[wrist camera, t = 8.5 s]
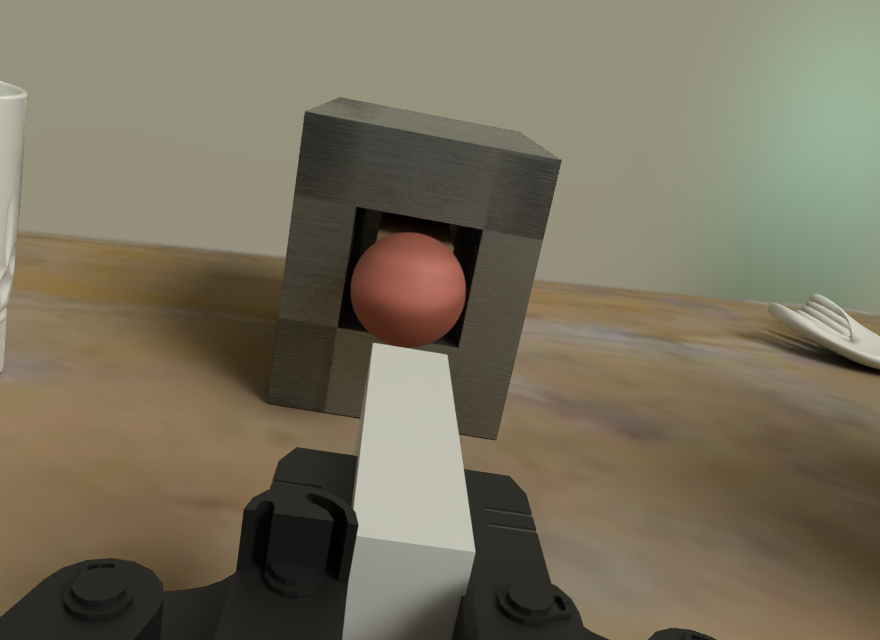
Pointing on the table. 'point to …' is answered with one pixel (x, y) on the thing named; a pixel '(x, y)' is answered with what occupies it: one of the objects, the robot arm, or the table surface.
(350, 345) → the block
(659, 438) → the table surface
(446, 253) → the plunger
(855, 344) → the white plastic spork
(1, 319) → the white cup
